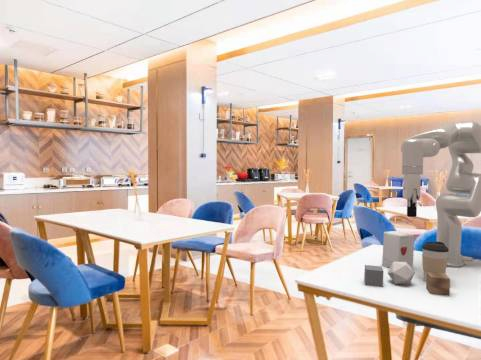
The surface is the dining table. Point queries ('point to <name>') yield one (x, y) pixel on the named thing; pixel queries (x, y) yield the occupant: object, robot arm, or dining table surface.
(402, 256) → the supplement box
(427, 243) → the coffee cup
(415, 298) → the dining table surface
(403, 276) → the die
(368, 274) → the charcoal block
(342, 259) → the dining table surface
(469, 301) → the dining table surface
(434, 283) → the walnut block
